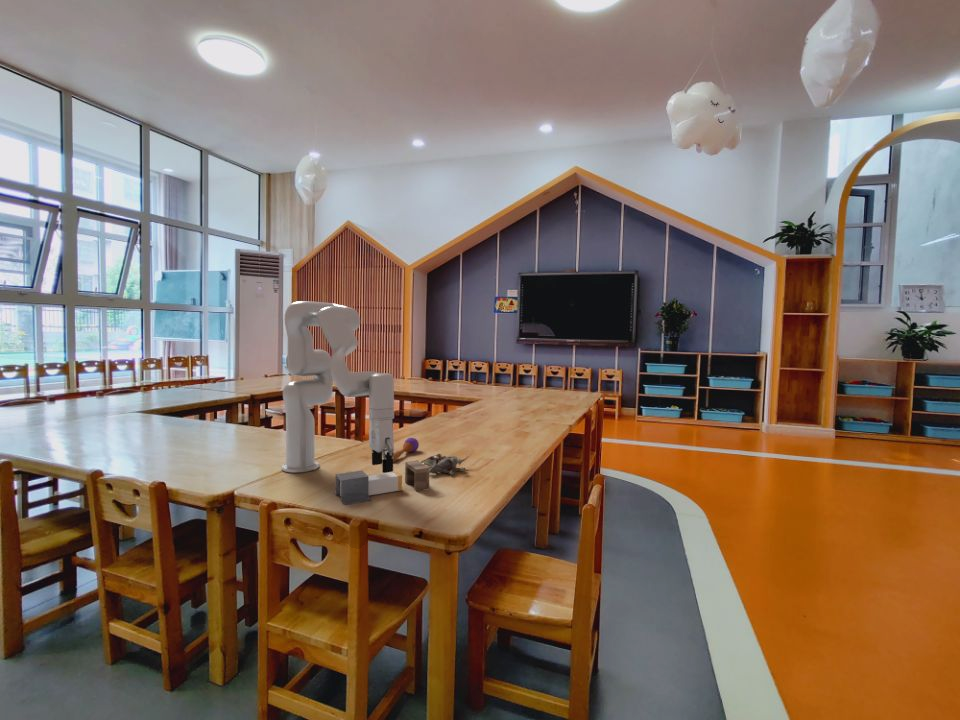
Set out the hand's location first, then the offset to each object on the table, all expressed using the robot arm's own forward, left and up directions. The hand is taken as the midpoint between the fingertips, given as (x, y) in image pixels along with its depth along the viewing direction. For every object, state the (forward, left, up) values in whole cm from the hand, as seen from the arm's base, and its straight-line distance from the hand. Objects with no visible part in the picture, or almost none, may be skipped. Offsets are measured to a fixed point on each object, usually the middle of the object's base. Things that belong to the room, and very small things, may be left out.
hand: (382, 468), depth 147 cm
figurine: (-13, +26, -8) cm, 30 cm away
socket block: (-1, +12, -8) cm, 14 cm away
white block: (-1, -3, -8) cm, 8 cm away
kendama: (-36, +22, -8) cm, 43 cm away
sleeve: (-1, -9, -8) cm, 12 cm away
